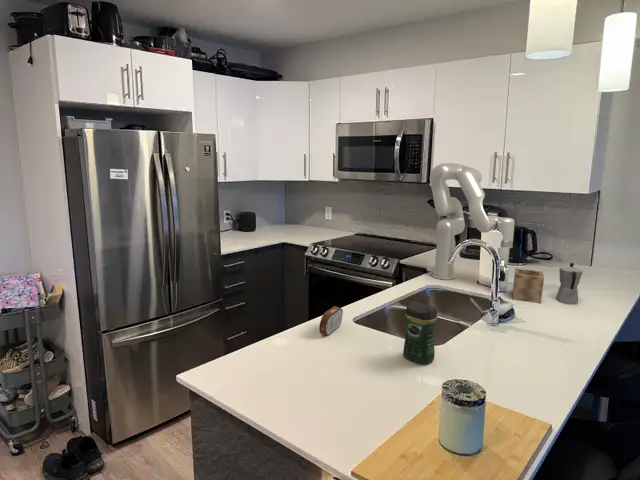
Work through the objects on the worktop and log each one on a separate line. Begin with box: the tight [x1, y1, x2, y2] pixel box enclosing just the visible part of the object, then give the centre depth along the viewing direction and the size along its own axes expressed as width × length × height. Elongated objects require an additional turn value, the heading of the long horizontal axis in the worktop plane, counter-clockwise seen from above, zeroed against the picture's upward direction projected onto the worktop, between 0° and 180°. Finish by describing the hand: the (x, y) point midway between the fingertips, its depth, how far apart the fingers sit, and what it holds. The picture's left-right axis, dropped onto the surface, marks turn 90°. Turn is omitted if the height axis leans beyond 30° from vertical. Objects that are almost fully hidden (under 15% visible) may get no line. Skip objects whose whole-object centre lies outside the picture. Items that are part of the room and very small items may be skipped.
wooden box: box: [512, 268, 545, 304], centre depth 203 cm, size 12×12×12 cm
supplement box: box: [498, 267, 510, 293], centre depth 213 cm, size 6×6×12 cm
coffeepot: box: [555, 262, 584, 305], centre depth 198 cm, size 15×9×18 cm, turn 160°
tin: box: [318, 305, 344, 336], centre depth 162 cm, size 15×3×8 cm, turn 152°
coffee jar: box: [402, 300, 438, 365], centre depth 141 cm, size 10×8×19 cm
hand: (501, 278), depth 213 cm, fingers open, 9 cm apart
